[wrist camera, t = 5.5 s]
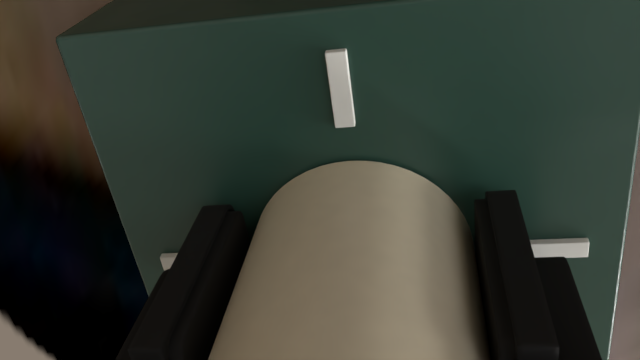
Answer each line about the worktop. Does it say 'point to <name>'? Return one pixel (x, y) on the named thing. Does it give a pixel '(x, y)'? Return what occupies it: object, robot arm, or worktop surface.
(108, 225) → the worktop surface
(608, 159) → the panel
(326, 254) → the grip knob
